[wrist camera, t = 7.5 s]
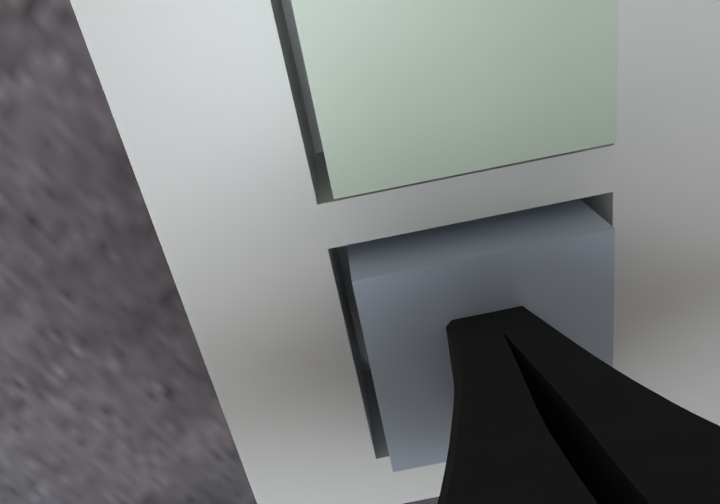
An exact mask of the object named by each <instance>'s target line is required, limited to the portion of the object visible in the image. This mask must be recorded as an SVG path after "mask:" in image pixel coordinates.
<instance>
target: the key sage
mask: <svg viewBox="0 0 720 504" xmlns="http://www.w3.org/2000/svg"><path fill="white" fill-rule="evenodd" d="M291 3H292V8H293V13H294V17H295V22H296V27H297V31H298V36H299V40H300V45H301V50H302V54H303V59H304V64H305V68H306V73H307V77H308V82H309V87H310V91H311V96H312V101H313V105H314V110H315V114H316V119H317V124H318V128H319V133H320V137H321V142H322V147H323V151H324V156H325V161H326V165H327V170H328V174H329V179H330V184H331V188H332V193H333V198H334V199H338V198H343V197H348V196H353V195H358V194H363V193H368V192H373V191H378V190H383V189H388V188H393V187H398V186H403V185H408V184H413V183H418V182H423V181H428V180H433V179H438V178H443V177H448V176H453V175H458V174H463V173H468V172H473V171H478V170H483V169H488V168H493V167H498V166H503V165H508V164H513V163H518V162H523V161H528V160H533V159H538V158H543V157H548V156H553V155H558V154H563V153H568V152H573V151H578V150H582V149H587V148H592V147H597V146H602V145H607V144H612V143H616V129H617V59H618V0H291Z"/></svg>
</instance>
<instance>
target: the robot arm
mask: <svg viewBox="0 0 720 504" xmlns="http://www.w3.org/2000/svg"><path fill="white" fill-rule="evenodd" d="M446 332H447V339H448V346H449V353H450V360H451V367H452V374H453V382H454V404H453V414H452V423H451V433H450V441H449V448H448V454H447V461H446V466H445V472H444V476H443V481H442V486H441V491H440V495H439V500H438V504H720V426H719V425H717V424H715V423H713V422H711V421H708V420H706V419H704V418H702V417H700V416H698V415H696V414H694V413H692V412H690V411H688V410H686V409H684V408H683V407H681V406H679V405H677V404H675V403H673V402H671V401H669V400H668V399H666V398H664V397H662V396H661V395H659V394H657V393H655V392H654V391H652V390H650V389H648V388H646V387H645V386H643V385H641V384H639V383H638V382H636V381H634V380H633V379H631V378H629V377H628V376H626V375H624V374H623V373H621V372H619V371H618V370H616V369H614V368H613V367H611V366H610V365H608V364H607V363H605V362H604V361H602V360H600V359H599V358H597V357H596V356H594V355H593V354H591V353H590V352H588V351H587V350H585V349H584V348H582V347H581V346H579V345H578V344H576V343H575V342H573V341H572V340H571V339H569V338H568V337H566V336H565V335H563V334H562V333H560V332H559V331H558V330H556V329H555V328H553V327H552V326H551V325H549V324H548V323H546V322H545V321H543V320H542V319H541V318H539V317H538V316H536V315H535V314H533V313H532V312H531V311H529V310H528V309H526V308H525V307H523V306H519V307H514V308H509V309H504V310H499V311H494V312H489V313H484V314H479V315H474V316H469V317H464V318H459V319H454V320H451V321H450V323H449V324H448V325H447V326H446Z"/></svg>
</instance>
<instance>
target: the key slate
mask: <svg viewBox="0 0 720 504" xmlns="http://www.w3.org/2000/svg"><path fill="white" fill-rule="evenodd" d="M347 252H348V259H349V266H350V273H351V280H352V285H353V290H354V295H355V299H356V304H357V308H358V313H359V318H360V322H361V327H362V332H363V336H364V341H365V345H366V350H367V355H368V359H369V364H370V368H371V373H372V378H373V382H374V387H375V392H376V396H377V401H378V405H379V410H380V415H381V419H382V424H383V429H384V433H385V438H386V442H387V447H388V452H389V456H390V461H391V465H392V470H393V472H397V471H402V470H407V469H413V468H418V467H423V466H428V465H433V464H438V463H443V462H446V461H447V454H448V448H449V441H450V433H451V423H452V414H453V404H454V382H453V374H452V367H451V360H450V353H449V346H448V339H447V332H446V326H447V325H448V324H449V323H450V321H451V320H454V319H459V318H464V317H469V316H474V315H479V314H484V313H489V312H494V311H499V310H504V309H509V308H514V307H519V306H523V307H525V308H526V309H528V310H529V311H531V312H532V313H533V314H535V315H536V316H538V317H539V318H541V319H542V320H543V321H545V322H546V323H548V324H549V325H551V326H552V327H553V328H555V329H556V330H558V331H559V332H560V333H562V334H563V335H565V336H566V337H568V338H569V339H571V340H572V341H573V342H575V343H576V344H578V345H579V346H581V347H582V348H584V349H585V350H587V351H588V352H590V353H591V354H593V355H594V356H596V357H597V358H599V359H600V360H602V361H604V362H605V363H607V364H608V365H610V366H611V367H613V339H614V269H615V228H614V227H612V226H611V225H610V224H609V223H608V222H606V221H605V220H604V219H603V218H602V217H601V216H599V215H598V214H597V213H596V212H595V211H593V210H592V209H591V208H590V207H589V206H588V205H586V204H585V203H584V202H583V201H582V200H581V199H575V200H570V201H565V202H560V203H555V204H550V205H545V206H540V207H535V208H530V209H525V210H520V211H515V212H510V213H505V214H500V215H495V216H490V217H485V218H480V219H475V220H470V221H465V222H460V223H455V224H450V225H445V226H440V227H435V228H430V229H425V230H420V231H415V232H410V233H405V234H400V235H395V236H390V237H385V238H380V239H375V240H370V241H365V242H360V243H355V244H350V245H347Z"/></svg>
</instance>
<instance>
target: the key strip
mask: <svg viewBox="0 0 720 504" xmlns="http://www.w3.org/2000/svg"><path fill="white" fill-rule="evenodd" d="M70 2H71V4H72V7H73V10H74V12H75V15H76V18H77V20H78V23H79V26H80V28H81V31H82V34H83V37H84V39H85V42H86V45H87V47H88V50H89V53H90V55H91V58H92V61H93V63H94V66H95V69H96V72H97V74H98V77H99V80H100V82H101V85H102V88H103V90H104V93H105V96H106V98H107V101H108V104H109V106H110V109H111V112H112V115H113V117H114V120H115V123H116V125H117V128H118V131H119V133H120V136H121V139H122V141H123V144H124V147H125V149H126V152H127V155H128V158H129V160H130V163H131V166H132V168H133V171H134V174H135V176H136V179H137V182H138V184H139V187H140V190H141V192H142V195H143V198H144V201H145V203H146V206H147V209H148V211H149V214H150V217H151V219H152V222H153V225H154V227H155V230H156V233H157V235H158V238H159V241H160V244H161V246H162V249H163V252H164V254H165V257H166V260H167V262H168V265H169V268H170V270H171V273H172V276H173V279H174V281H175V284H176V287H177V289H178V292H179V295H180V297H181V300H182V303H183V305H184V308H185V311H186V313H187V316H188V319H189V322H190V324H191V327H192V330H193V332H194V335H195V338H196V340H197V343H198V346H199V348H200V351H201V354H202V356H203V359H204V362H205V365H206V367H207V370H208V373H209V375H210V378H211V381H212V383H213V386H214V389H215V391H216V394H217V397H218V399H219V402H220V405H221V408H222V410H223V413H224V416H225V418H226V421H227V424H228V426H229V429H230V432H231V434H232V437H233V440H234V442H235V445H236V448H237V451H238V453H239V456H240V459H241V461H242V464H243V467H244V469H245V472H246V475H247V477H248V480H249V483H250V485H251V488H252V491H253V494H254V496H255V499H256V502H257V504H403V503H408V502H413V501H418V500H423V499H428V498H433V497H439V495H440V491H441V486H442V481H443V476H444V472H445V466H446V462H443V463H438V464H433V465H428V466H423V467H418V468H413V469H407V470H402V471H397V472H393V470H392V465H391V461H390V456H389V452H388V447H387V442H386V438H385V433H384V429H383V424H382V419H381V415H380V410H379V405H378V401H377V396H376V392H375V387H374V382H373V378H372V373H371V368H370V364H369V359H368V355H367V350H366V345H365V341H364V336H363V332H362V327H361V322H360V318H359V313H358V308H357V304H356V299H355V295H354V290H353V285H352V280H351V273H350V266H349V259H348V252H347V245H350V244H355V243H360V242H365V241H370V240H375V239H380V238H385V237H390V236H395V235H400V234H405V233H410V232H415V231H420V230H425V229H430V228H435V227H440V226H445V225H450V224H455V223H460V222H465V221H470V220H475V219H480V218H485V217H490V216H495V215H500V214H505V213H510V212H515V211H520V210H525V209H530V208H535V207H540V206H545V205H550V204H555V203H560V202H565V201H570V200H575V199H581V200H582V201H583V202H584V203H585V204H586V205H588V206H589V207H590V208H591V209H592V210H593V211H595V212H596V213H597V214H598V215H599V216H601V217H602V218H603V219H604V220H605V221H606V222H608V223H609V224H610V225H611V226H612V227H614V228H615V269H614V339H613V368H614V369H616V370H618V371H619V372H621V373H623V374H624V375H626V376H628V377H629V378H631V379H633V380H634V381H636V382H638V383H639V384H641V385H643V386H645V387H646V388H648V389H650V390H652V391H654V392H655V393H657V394H659V395H661V396H662V397H664V398H666V399H668V400H669V401H671V402H673V403H675V404H677V405H679V406H681V407H683V408H684V409H686V410H688V411H690V412H692V413H694V414H696V415H698V416H700V417H702V418H704V419H706V420H708V421H711V422H713V423H715V424H717V425H719V426H720V0H618V59H617V129H616V143H612V144H607V145H602V146H597V147H592V148H587V149H582V150H578V151H573V152H568V153H563V154H558V155H553V156H548V157H543V158H538V159H533V160H528V161H523V162H518V163H513V164H508V165H503V166H498V167H493V168H488V169H483V170H478V171H473V172H468V173H463V174H458V175H453V176H448V177H443V178H438V179H433V180H428V181H423V182H418V183H413V184H408V185H403V186H398V187H393V188H388V189H383V190H378V191H373V192H368V193H363V194H358V195H353V196H348V197H343V198H338V199H334V198H333V193H332V188H331V184H330V179H329V174H328V170H327V165H326V161H325V156H324V151H323V147H322V142H321V137H320V133H319V128H318V124H317V119H316V114H315V110H314V105H313V101H312V96H311V91H310V87H309V82H308V77H307V73H306V68H305V64H304V59H303V54H302V50H301V45H300V40H299V36H298V31H297V27H296V22H295V17H294V13H293V8H292V3H291V0H70Z"/></svg>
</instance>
